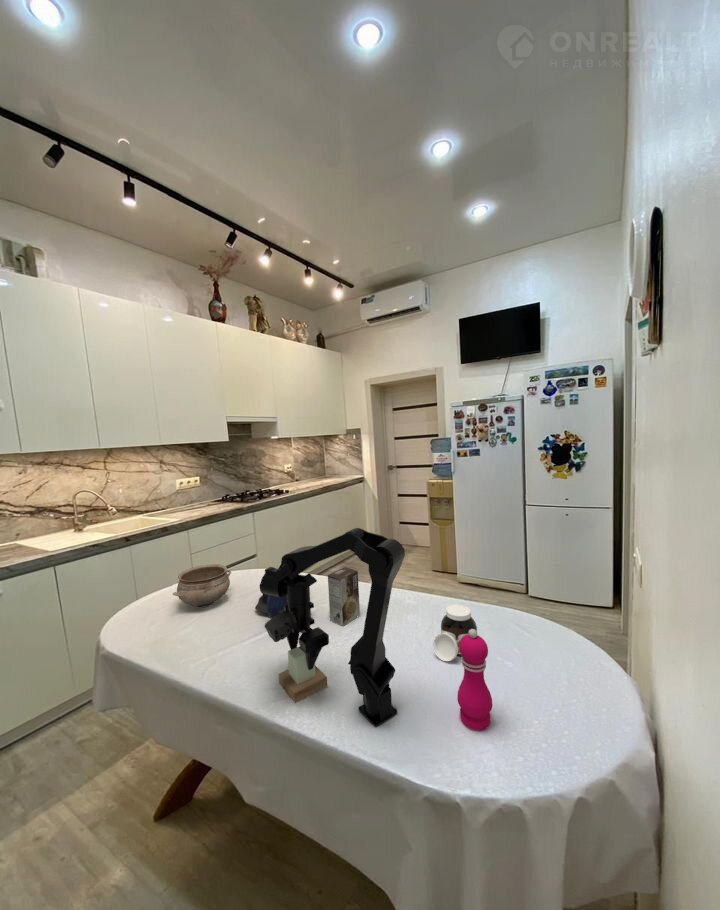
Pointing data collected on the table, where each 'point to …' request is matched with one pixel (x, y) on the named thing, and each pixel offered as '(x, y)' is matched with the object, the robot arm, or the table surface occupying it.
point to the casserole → (262, 603)
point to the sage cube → (299, 666)
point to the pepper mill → (474, 683)
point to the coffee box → (343, 596)
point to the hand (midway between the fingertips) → (301, 660)
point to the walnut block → (302, 685)
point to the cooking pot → (203, 584)
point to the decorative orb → (275, 604)
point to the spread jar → (453, 632)
